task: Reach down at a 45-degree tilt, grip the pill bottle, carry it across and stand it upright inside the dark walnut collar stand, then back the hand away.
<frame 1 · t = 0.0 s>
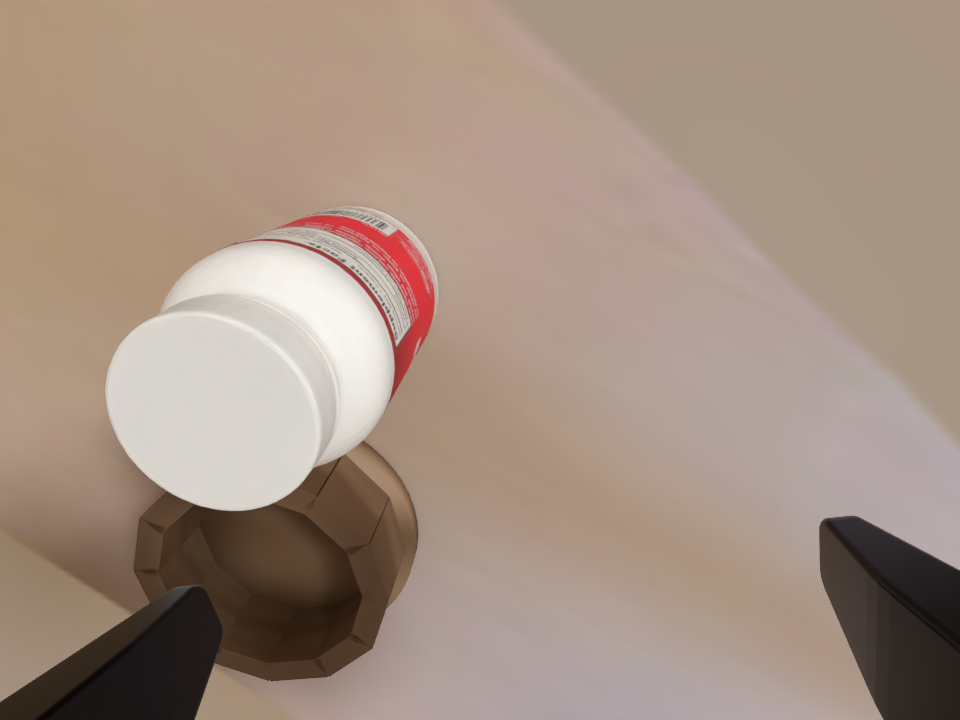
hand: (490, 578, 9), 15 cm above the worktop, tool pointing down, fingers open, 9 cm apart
collar stand: (298, 521, 27), on the worktop
pill bottle: (363, 284, 23), on the worktop
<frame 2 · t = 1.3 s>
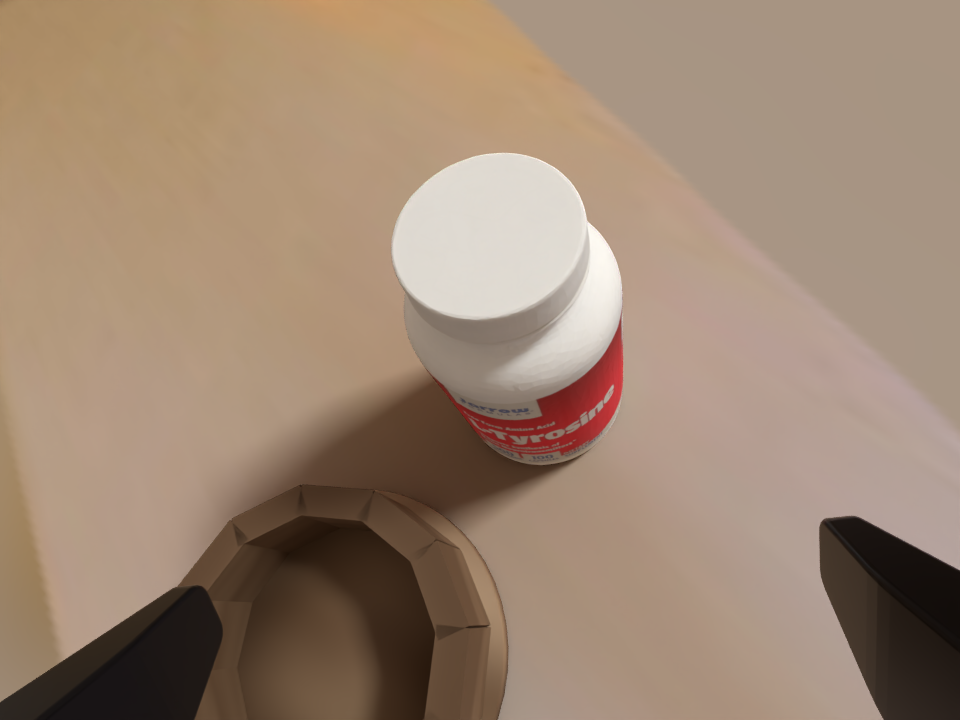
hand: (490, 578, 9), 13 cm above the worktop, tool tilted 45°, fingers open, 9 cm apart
collar stand: (357, 648, 21), on the worktop
pill bottle: (544, 393, 24), on the worktop
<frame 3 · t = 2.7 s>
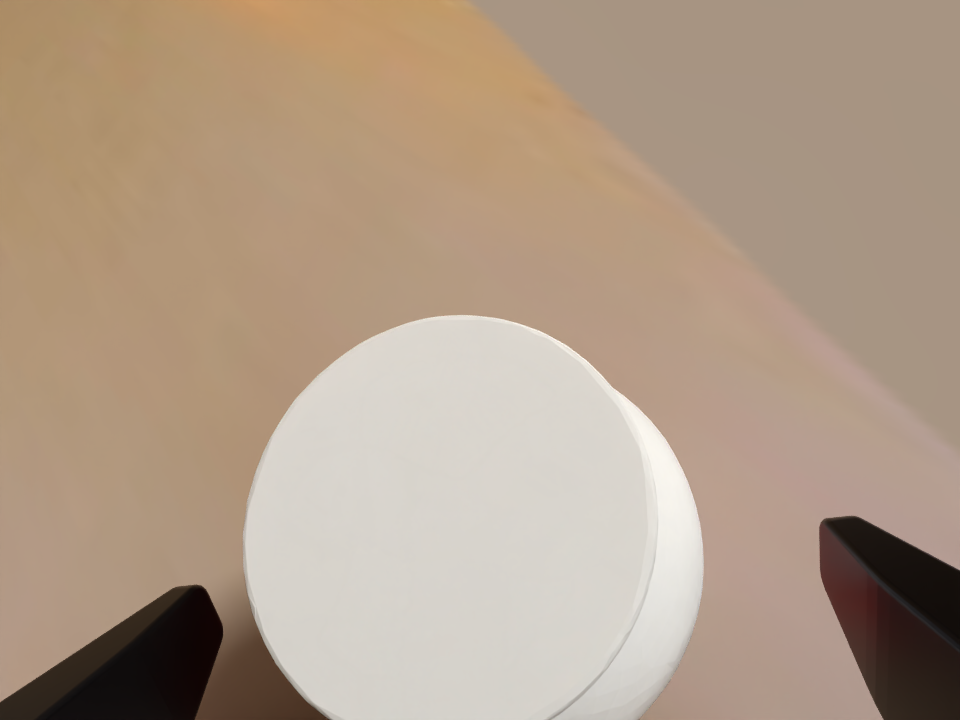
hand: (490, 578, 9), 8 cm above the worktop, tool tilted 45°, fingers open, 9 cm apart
pill bottle: (552, 576, 16), on the worktop
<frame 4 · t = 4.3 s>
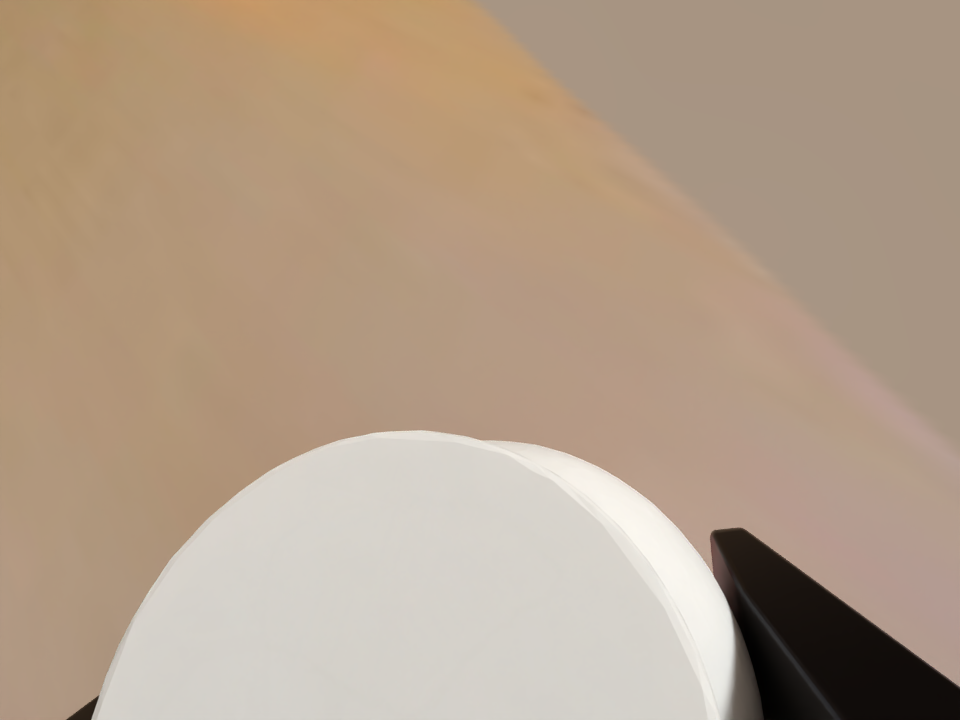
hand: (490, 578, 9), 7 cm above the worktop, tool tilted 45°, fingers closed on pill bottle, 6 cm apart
pill bottle: (553, 658, 14), on the worktop, touching gripper
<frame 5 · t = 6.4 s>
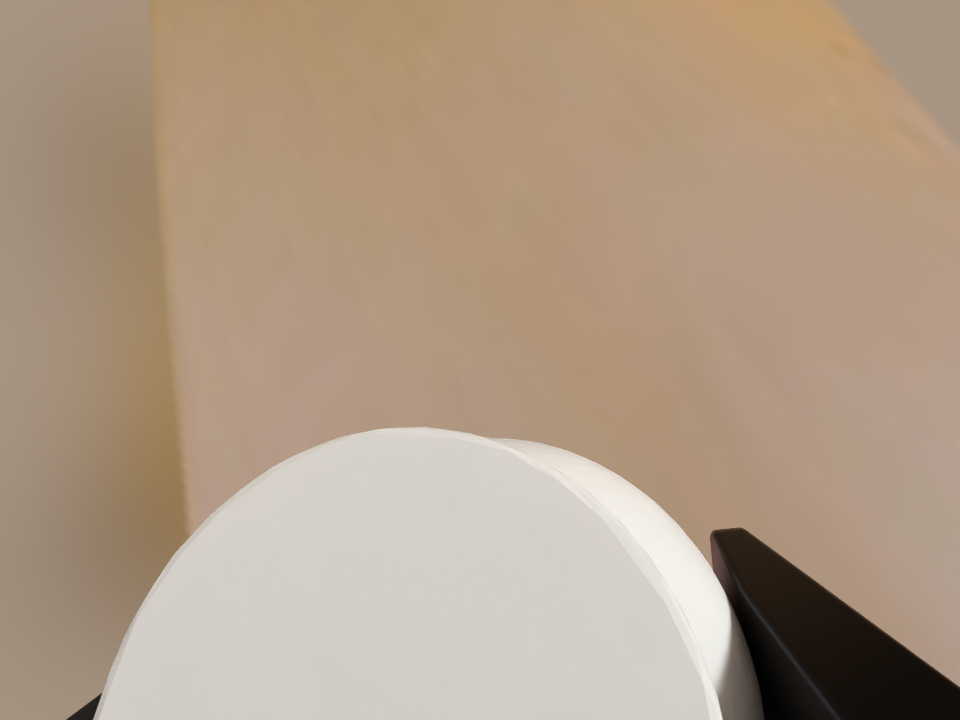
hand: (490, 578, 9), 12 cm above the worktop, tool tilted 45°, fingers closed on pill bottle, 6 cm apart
pill bottle: (554, 656, 14), point 5 cm above the worktop, touching gripper
when the fingers open (9 cm above the worktop, at t = 8.4 s): pill bottle drops 1 cm, resting on collar stand.
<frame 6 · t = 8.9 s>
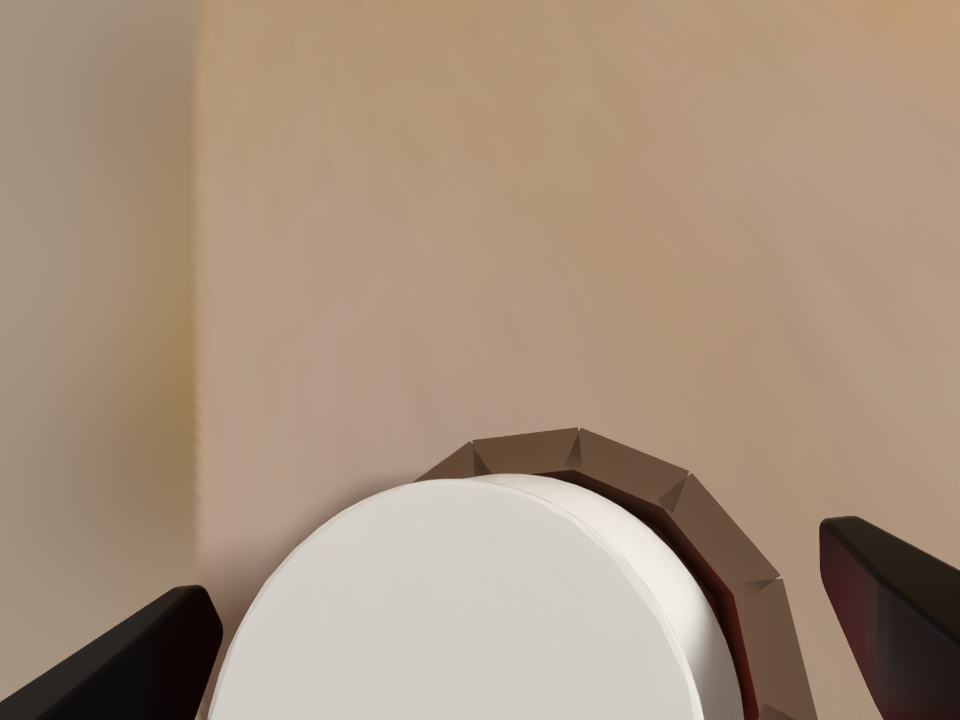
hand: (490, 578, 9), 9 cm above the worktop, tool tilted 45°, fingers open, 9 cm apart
collar stand: (563, 653, 16), on the worktop
pill bottle: (560, 662, 15), point 1 cm above the worktop, touching collar stand
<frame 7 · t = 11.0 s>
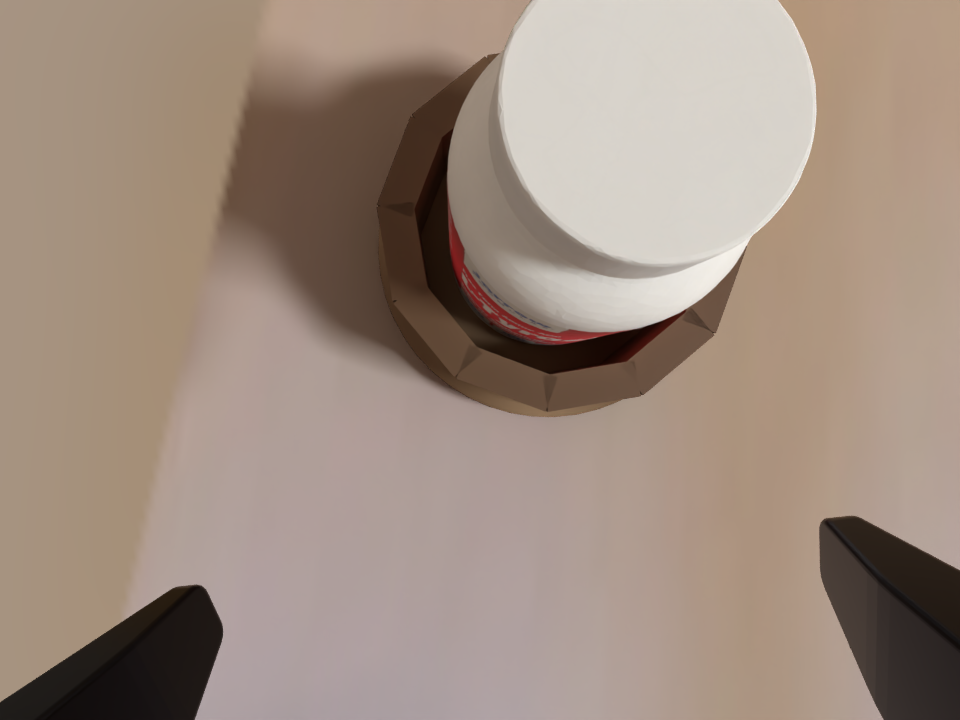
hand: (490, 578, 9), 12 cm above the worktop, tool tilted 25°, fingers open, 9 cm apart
collar stand: (543, 254, 20), on the worktop
pill bottle: (544, 254, 20), point 1 cm above the worktop, touching collar stand
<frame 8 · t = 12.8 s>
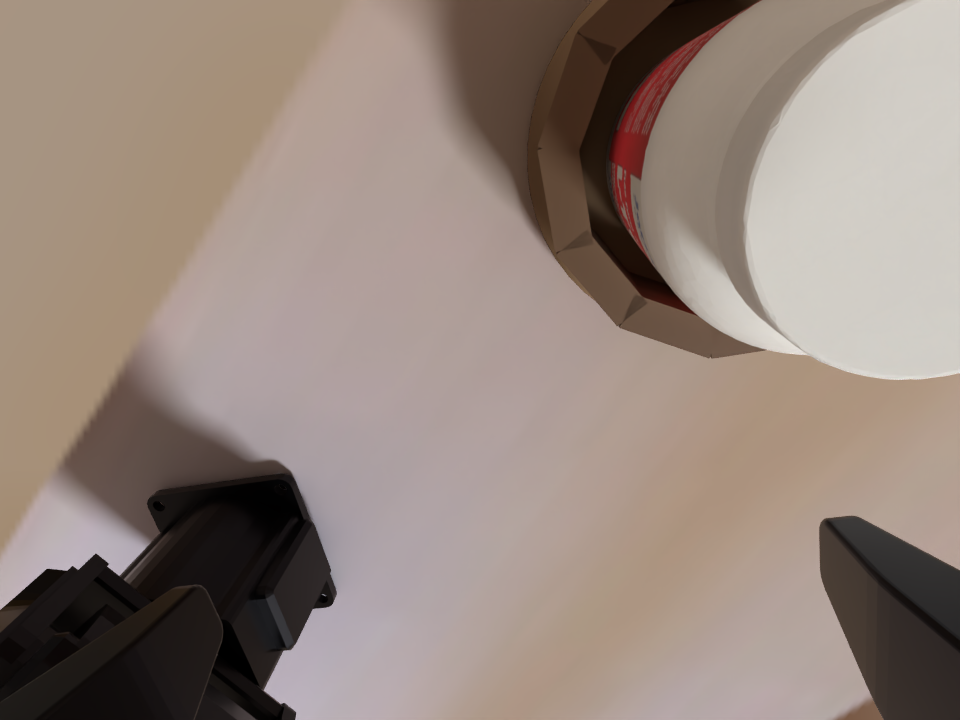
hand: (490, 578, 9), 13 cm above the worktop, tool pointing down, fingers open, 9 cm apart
collar stand: (709, 152, 18), on the worktop
pill bottle: (711, 157, 17), point 1 cm above the worktop, touching collar stand
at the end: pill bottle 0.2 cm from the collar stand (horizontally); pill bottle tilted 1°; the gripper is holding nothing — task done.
